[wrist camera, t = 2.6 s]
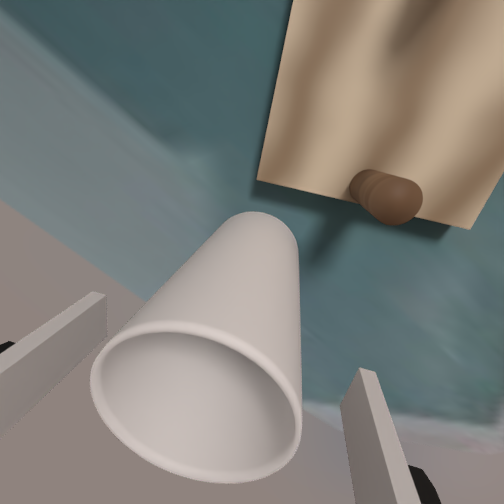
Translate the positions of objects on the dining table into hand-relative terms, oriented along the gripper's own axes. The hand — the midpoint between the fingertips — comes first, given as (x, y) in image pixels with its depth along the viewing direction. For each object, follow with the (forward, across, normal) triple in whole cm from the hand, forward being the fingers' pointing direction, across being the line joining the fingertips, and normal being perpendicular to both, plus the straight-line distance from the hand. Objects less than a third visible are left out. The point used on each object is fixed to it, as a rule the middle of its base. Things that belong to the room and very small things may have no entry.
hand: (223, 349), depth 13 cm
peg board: (+12, +7, +15) cm, 21 cm away
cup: (+12, 0, 0) cm, 12 cm away
